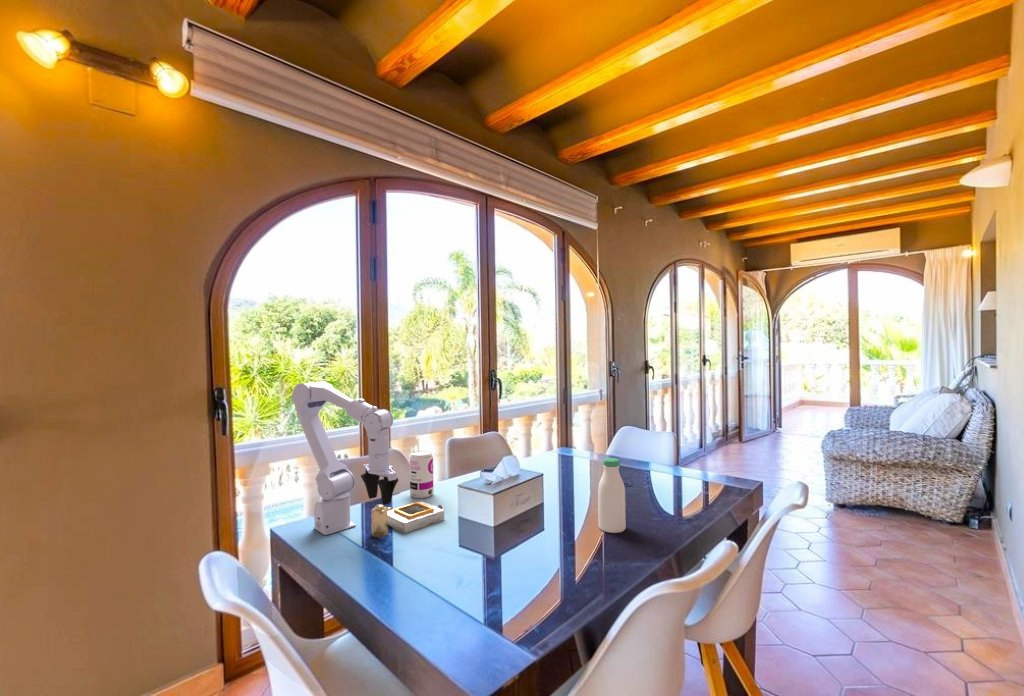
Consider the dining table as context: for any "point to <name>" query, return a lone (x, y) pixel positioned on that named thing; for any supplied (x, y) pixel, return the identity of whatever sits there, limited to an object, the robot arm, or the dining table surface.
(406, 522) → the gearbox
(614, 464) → the milk bottle
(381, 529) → the spout can
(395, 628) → the dining table surface
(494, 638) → the dining table surface
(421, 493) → the supplement can
